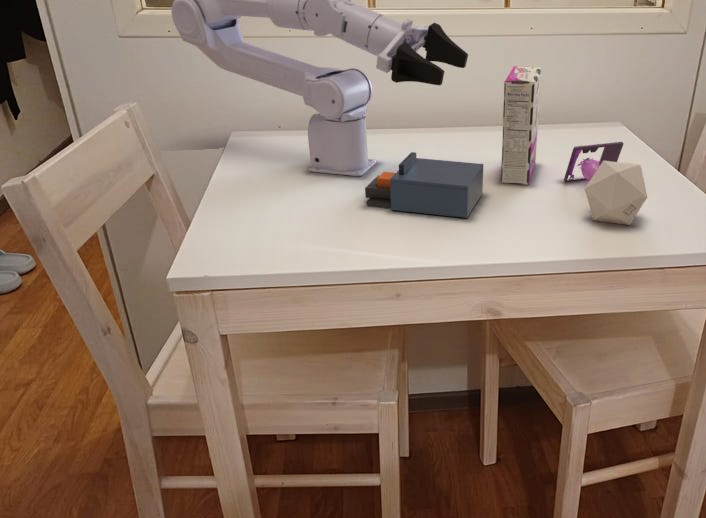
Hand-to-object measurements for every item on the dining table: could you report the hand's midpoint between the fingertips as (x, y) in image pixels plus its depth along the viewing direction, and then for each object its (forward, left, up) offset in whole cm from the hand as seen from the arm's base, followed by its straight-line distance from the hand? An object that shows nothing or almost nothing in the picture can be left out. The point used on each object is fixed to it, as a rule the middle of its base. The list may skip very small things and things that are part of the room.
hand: (454, 69), depth 107 cm
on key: (-8, -8, -16) cm, 20 cm away
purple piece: (+22, +8, -18) cm, 30 cm away
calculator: (-3, -8, -18) cm, 20 cm away
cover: (0, -8, -18) cm, 20 cm away
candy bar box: (+9, +9, -18) cm, 22 cm away
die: (+26, -7, -18) cm, 33 cm away
